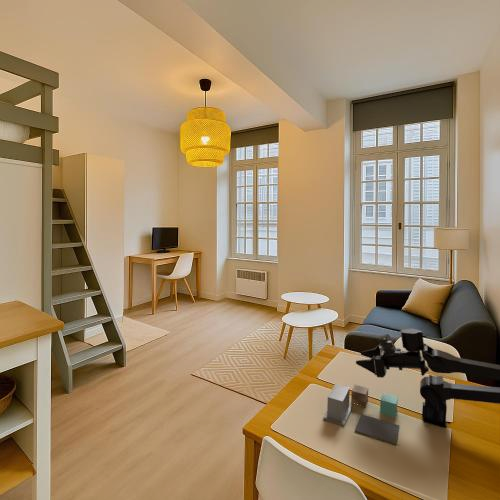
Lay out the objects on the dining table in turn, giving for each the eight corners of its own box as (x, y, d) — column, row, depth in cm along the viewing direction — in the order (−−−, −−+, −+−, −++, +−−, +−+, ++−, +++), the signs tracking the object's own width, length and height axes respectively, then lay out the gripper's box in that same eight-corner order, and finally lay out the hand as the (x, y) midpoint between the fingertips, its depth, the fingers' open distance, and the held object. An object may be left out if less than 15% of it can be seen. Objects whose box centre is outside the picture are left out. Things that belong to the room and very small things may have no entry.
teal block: (397, 410, 112) (397, 397, 112) (395, 418, 108) (396, 404, 107) (381, 406, 115) (382, 393, 114) (379, 413, 110) (380, 399, 110)
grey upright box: (352, 407, 113) (353, 386, 113) (344, 426, 103) (345, 403, 102) (332, 402, 117) (333, 381, 116) (323, 419, 107) (323, 397, 106)
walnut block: (367, 400, 118) (368, 388, 117) (365, 407, 114) (365, 394, 113) (354, 397, 120) (354, 384, 120) (351, 403, 116) (351, 390, 116)
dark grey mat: (399, 426, 103) (399, 425, 103) (396, 445, 95) (396, 443, 94) (360, 415, 109) (360, 413, 109) (354, 431, 100) (354, 430, 100)
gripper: (403, 328, 118) (360, 329, 126) (399, 345, 102) (349, 344, 110) (407, 358, 118) (364, 356, 126) (404, 379, 102) (354, 376, 110)
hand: (358, 357), depth 118 cm, fingers open, 9 cm apart
